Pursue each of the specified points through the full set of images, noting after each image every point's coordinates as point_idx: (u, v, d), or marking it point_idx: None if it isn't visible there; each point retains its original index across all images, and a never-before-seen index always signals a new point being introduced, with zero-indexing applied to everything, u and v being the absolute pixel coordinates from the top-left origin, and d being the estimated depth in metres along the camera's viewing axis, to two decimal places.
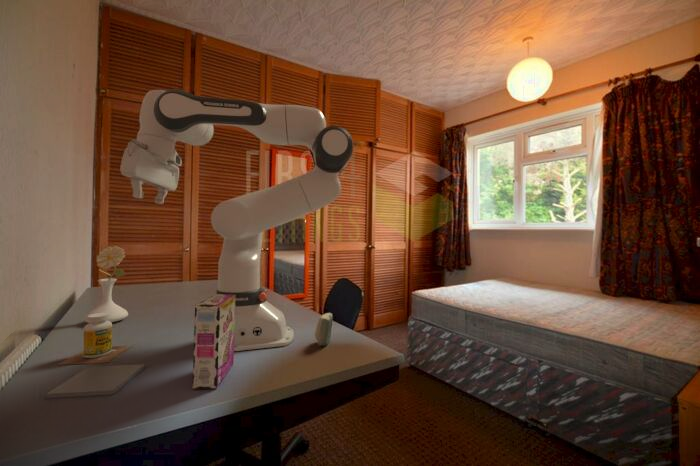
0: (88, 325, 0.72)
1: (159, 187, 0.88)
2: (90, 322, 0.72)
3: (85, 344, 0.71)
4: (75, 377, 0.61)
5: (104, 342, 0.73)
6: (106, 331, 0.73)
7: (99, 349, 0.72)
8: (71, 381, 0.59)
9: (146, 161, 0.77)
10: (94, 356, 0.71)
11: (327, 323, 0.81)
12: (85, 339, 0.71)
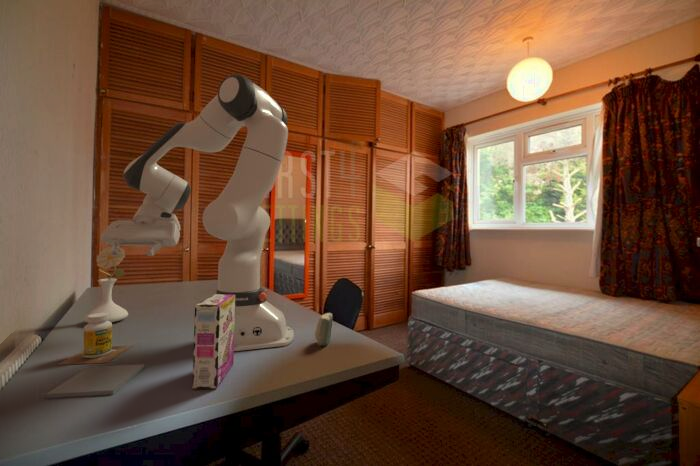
0: (88, 325, 0.72)
1: None
2: (90, 322, 0.72)
3: (85, 344, 0.71)
4: (75, 377, 0.61)
5: (104, 342, 0.73)
6: (106, 331, 0.73)
7: (99, 349, 0.72)
8: (71, 381, 0.59)
9: (122, 226, 0.92)
10: (94, 356, 0.71)
11: (327, 323, 0.81)
12: (85, 339, 0.71)
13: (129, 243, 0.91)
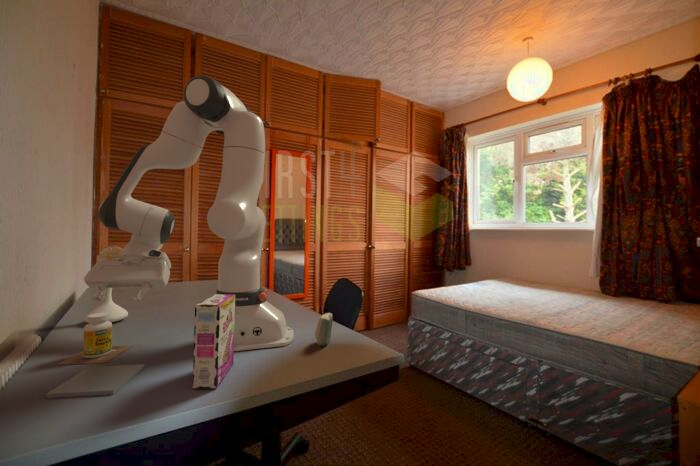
0: (88, 325, 0.72)
1: None
2: (90, 322, 0.72)
3: (85, 344, 0.71)
4: (75, 377, 0.61)
5: (104, 342, 0.73)
6: (106, 331, 0.73)
7: (99, 349, 0.72)
8: (71, 381, 0.59)
9: (107, 267, 0.86)
10: (94, 356, 0.71)
11: (327, 323, 0.81)
12: (85, 339, 0.71)
13: (115, 285, 0.85)
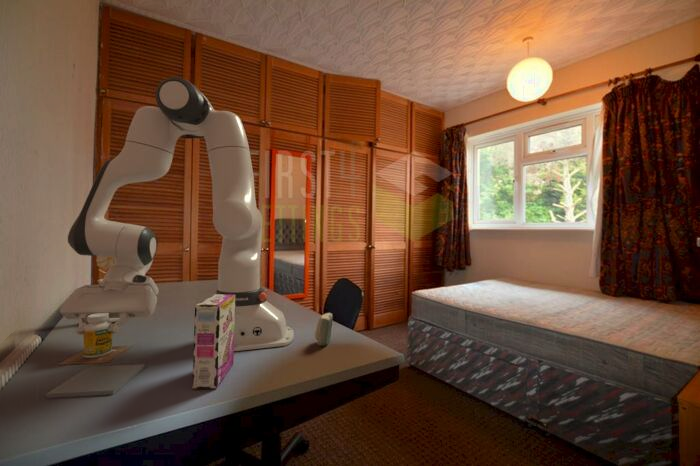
0: (88, 325, 0.72)
1: None
2: (90, 322, 0.72)
3: (85, 344, 0.71)
4: (75, 377, 0.61)
5: (104, 342, 0.73)
6: (106, 331, 0.73)
7: (99, 349, 0.72)
8: (71, 381, 0.59)
9: (86, 296, 0.78)
10: (94, 356, 0.71)
11: (327, 323, 0.81)
12: (85, 339, 0.71)
13: None
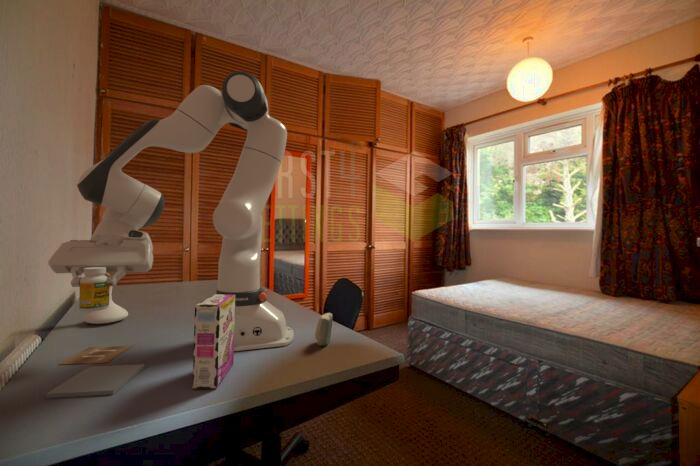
0: (85, 277, 0.69)
1: None
2: (87, 274, 0.69)
3: (82, 297, 0.68)
4: (75, 377, 0.61)
5: (103, 295, 0.70)
6: (104, 284, 0.70)
7: (98, 302, 0.69)
8: (71, 381, 0.59)
9: (77, 249, 0.74)
10: (93, 309, 0.69)
11: (327, 323, 0.81)
12: (82, 292, 0.68)
13: None
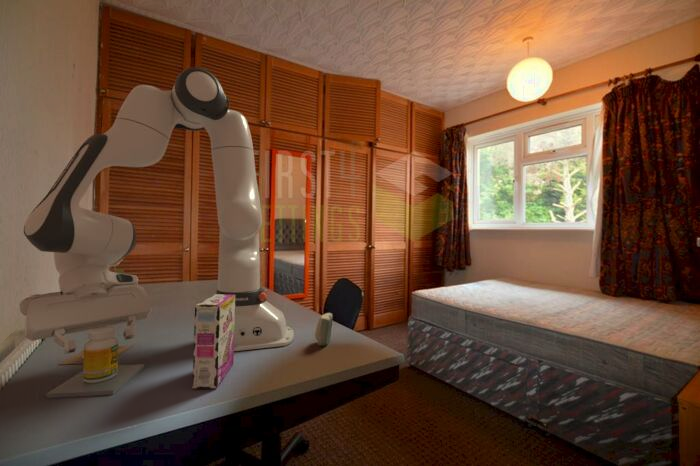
0: (96, 343, 0.59)
1: (125, 320, 0.67)
2: (100, 339, 0.60)
3: (96, 366, 0.59)
4: (75, 377, 0.61)
5: (116, 359, 0.62)
6: (117, 345, 0.62)
7: (114, 368, 0.61)
8: (71, 381, 0.59)
9: (56, 306, 0.59)
10: (110, 377, 0.60)
11: (327, 323, 0.81)
12: (96, 360, 0.59)
13: (76, 329, 0.61)
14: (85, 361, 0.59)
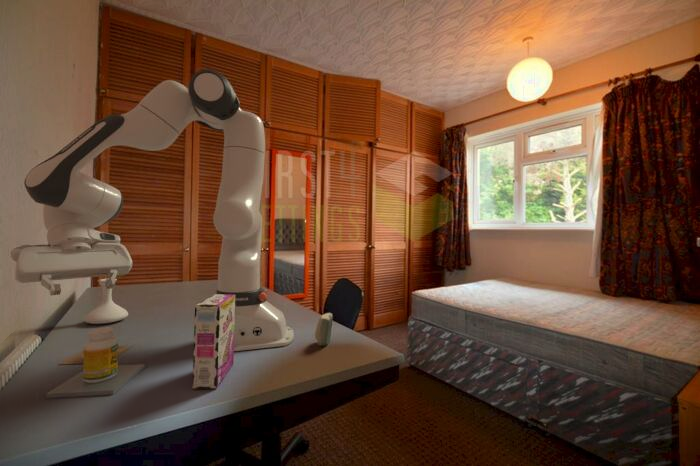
0: (96, 343, 0.59)
1: (107, 273, 0.74)
2: (100, 339, 0.60)
3: (96, 366, 0.59)
4: (75, 377, 0.61)
5: (116, 359, 0.62)
6: (117, 345, 0.62)
7: (114, 368, 0.61)
8: (71, 381, 0.59)
9: (44, 255, 0.67)
10: (110, 377, 0.60)
11: (327, 323, 0.81)
12: (96, 360, 0.59)
13: (62, 277, 0.68)
14: (85, 361, 0.59)
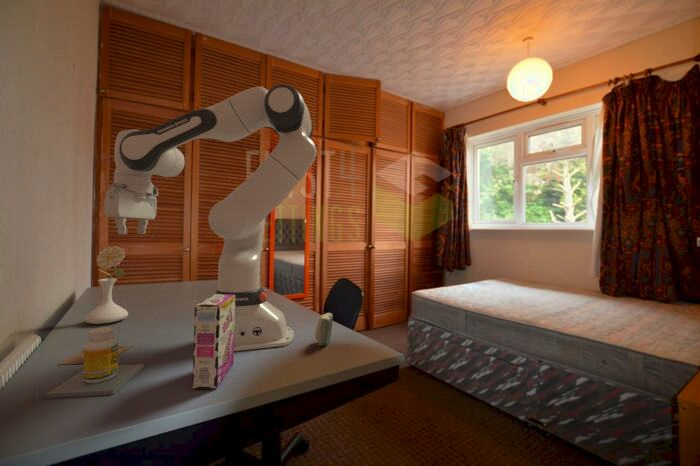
0: (96, 343, 0.59)
1: (139, 218, 0.94)
2: (100, 339, 0.60)
3: (96, 366, 0.59)
4: (75, 377, 0.61)
5: (116, 359, 0.62)
6: (117, 345, 0.62)
7: (114, 368, 0.61)
8: (71, 381, 0.59)
9: (126, 200, 0.84)
10: (110, 377, 0.60)
11: (327, 323, 0.81)
12: (96, 360, 0.59)
13: None
14: (85, 361, 0.59)
